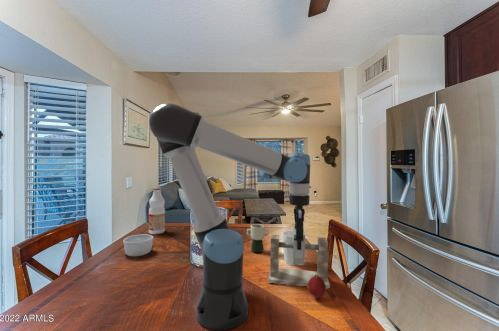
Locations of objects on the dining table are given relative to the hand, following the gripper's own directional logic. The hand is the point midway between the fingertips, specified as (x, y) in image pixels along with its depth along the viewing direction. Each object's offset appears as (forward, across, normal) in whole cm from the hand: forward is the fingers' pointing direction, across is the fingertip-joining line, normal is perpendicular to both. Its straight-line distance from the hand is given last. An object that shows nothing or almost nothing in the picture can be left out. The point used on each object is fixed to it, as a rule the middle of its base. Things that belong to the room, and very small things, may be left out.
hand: (298, 253), depth 92 cm
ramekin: (+11, +13, +76) cm, 78 cm away
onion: (+10, -12, -6) cm, 17 cm away
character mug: (+10, +26, +19) cm, 34 cm away
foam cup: (+10, +16, +2) cm, 19 cm away
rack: (+10, 0, 0) cm, 10 cm away
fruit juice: (+11, +45, +85) cm, 97 cm away
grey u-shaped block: (+3, 0, 0) cm, 3 cm away
